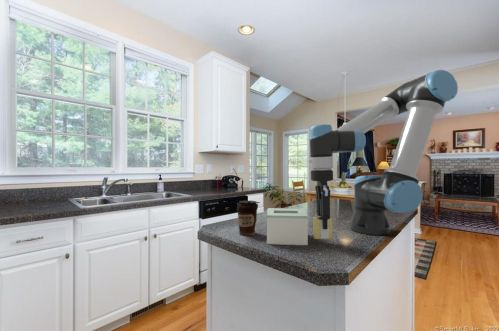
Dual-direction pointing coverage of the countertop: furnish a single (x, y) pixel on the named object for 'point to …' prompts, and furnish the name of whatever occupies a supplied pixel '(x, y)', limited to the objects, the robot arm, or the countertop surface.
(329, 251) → the countertop surface
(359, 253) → the countertop surface
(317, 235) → the pale yellow block
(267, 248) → the countertop surface
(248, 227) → the coffee cup
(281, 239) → the coin box
